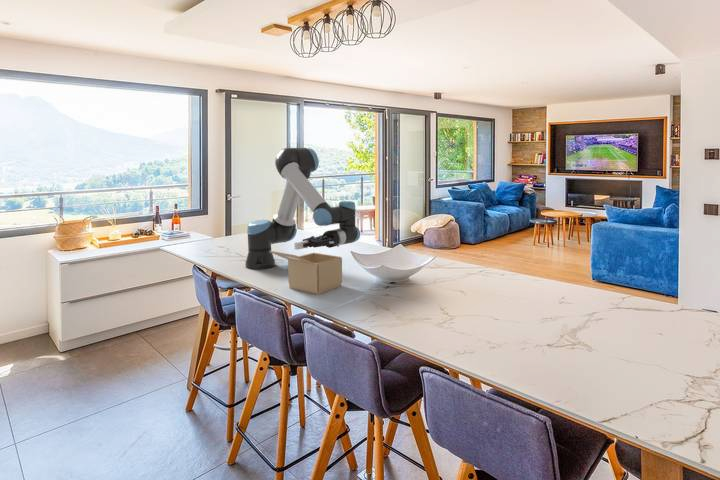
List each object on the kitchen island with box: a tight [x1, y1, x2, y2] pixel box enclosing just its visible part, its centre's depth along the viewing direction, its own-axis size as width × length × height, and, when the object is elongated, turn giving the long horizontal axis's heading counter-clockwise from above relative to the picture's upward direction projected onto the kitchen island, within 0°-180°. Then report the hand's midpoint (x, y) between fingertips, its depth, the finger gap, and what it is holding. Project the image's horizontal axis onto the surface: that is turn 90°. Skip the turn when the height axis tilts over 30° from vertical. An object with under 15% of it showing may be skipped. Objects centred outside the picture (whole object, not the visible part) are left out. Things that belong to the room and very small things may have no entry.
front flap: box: [269, 250, 315, 265], centre depth 193 cm, size 15×1×12 cm
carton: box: [287, 252, 343, 295], centre depth 206 cm, size 18×17×13 cm
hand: (295, 246), depth 193 cm, fingers closed
